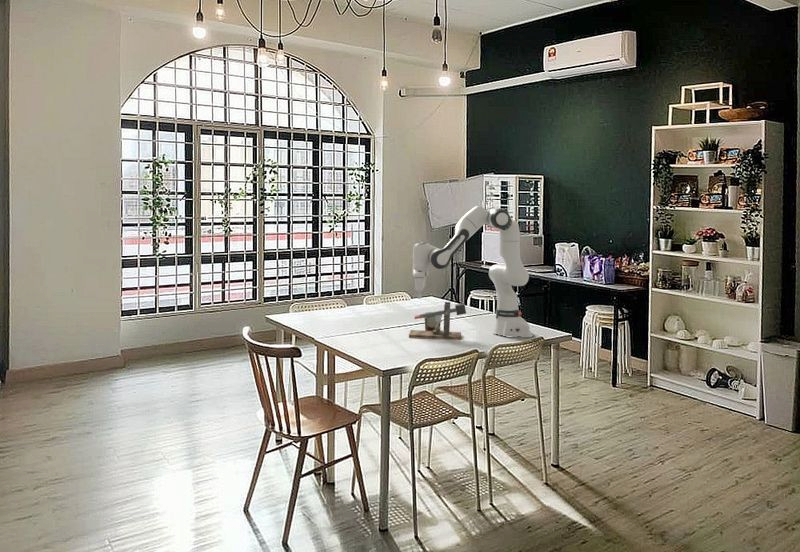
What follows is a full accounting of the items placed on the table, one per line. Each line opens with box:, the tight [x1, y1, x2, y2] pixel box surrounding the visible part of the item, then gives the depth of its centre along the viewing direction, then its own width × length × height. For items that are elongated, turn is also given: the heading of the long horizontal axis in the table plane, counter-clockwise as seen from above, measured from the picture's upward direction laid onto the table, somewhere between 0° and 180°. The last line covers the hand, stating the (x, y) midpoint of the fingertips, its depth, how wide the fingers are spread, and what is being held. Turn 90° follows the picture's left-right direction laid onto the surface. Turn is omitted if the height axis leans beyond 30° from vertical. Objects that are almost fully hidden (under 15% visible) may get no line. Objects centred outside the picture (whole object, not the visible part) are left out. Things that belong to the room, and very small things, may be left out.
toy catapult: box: [408, 301, 462, 341], centre depth 380 cm, size 28×12×18 cm, turn 84°
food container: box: [424, 311, 443, 331], centre depth 395 cm, size 12×6×10 cm, turn 130°
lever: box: [414, 302, 467, 323], centre depth 379 cm, size 28×5×7 cm, turn 83°
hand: (420, 297), depth 379 cm, fingers open, 8 cm apart
